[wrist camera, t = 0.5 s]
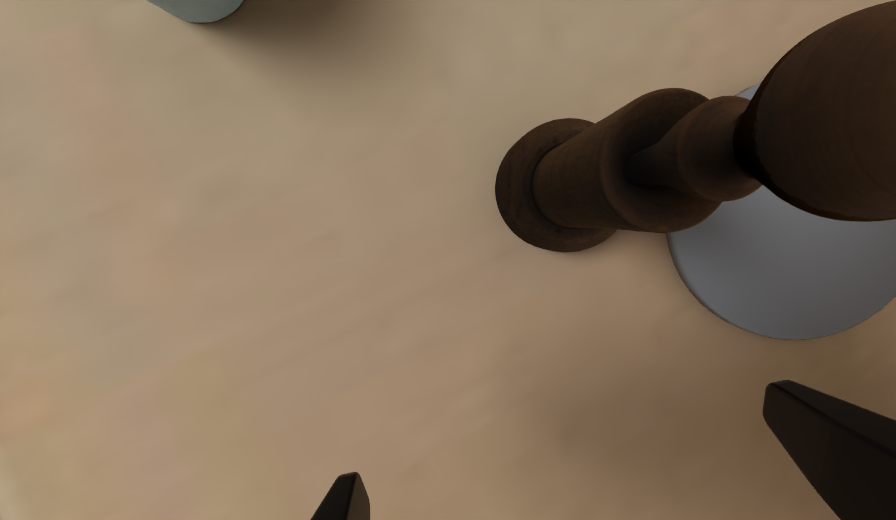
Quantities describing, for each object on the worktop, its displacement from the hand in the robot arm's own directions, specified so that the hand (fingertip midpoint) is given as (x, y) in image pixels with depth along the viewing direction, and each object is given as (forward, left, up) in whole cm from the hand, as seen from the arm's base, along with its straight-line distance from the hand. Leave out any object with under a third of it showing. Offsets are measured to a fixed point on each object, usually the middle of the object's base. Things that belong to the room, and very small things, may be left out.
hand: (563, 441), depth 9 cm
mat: (0, -17, -14) cm, 22 cm away
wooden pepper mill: (+5, -5, -14) cm, 16 cm away
